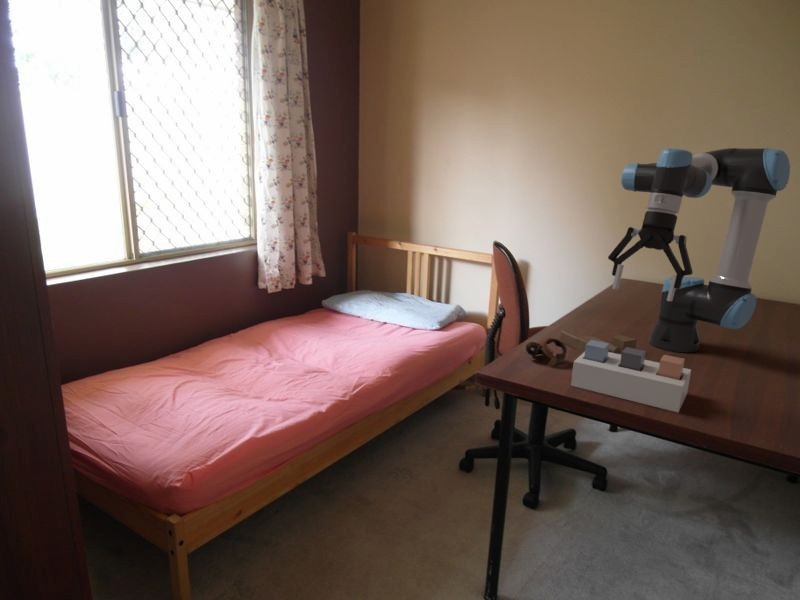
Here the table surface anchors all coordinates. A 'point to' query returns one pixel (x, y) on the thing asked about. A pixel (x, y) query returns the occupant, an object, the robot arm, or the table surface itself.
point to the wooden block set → (580, 340)
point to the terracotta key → (671, 367)
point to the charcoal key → (632, 359)
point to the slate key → (596, 351)
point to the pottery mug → (547, 350)
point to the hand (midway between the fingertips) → (641, 294)
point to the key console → (631, 382)
